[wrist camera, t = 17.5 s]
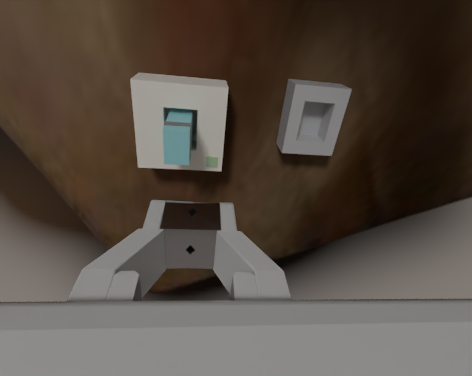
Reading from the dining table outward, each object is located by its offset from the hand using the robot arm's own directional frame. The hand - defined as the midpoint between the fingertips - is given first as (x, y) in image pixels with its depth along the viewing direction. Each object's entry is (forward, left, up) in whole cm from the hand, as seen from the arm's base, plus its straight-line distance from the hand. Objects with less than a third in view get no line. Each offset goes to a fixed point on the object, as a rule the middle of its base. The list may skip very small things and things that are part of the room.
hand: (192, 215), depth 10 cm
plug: (+7, -3, -32) cm, 33 cm away
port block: (+7, -3, -33) cm, 34 cm away
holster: (+5, +16, -33) cm, 37 cm away
